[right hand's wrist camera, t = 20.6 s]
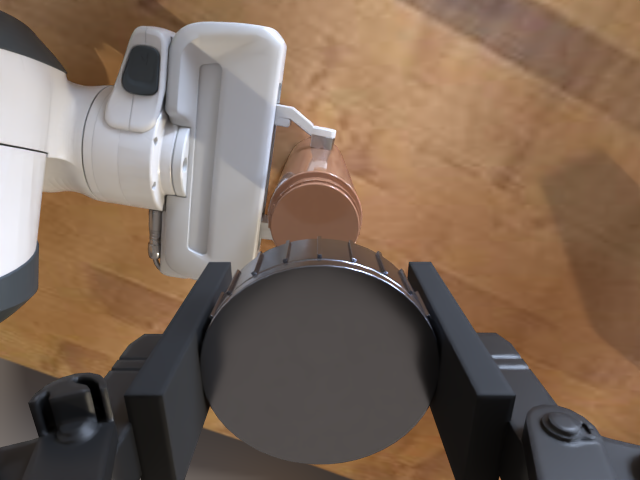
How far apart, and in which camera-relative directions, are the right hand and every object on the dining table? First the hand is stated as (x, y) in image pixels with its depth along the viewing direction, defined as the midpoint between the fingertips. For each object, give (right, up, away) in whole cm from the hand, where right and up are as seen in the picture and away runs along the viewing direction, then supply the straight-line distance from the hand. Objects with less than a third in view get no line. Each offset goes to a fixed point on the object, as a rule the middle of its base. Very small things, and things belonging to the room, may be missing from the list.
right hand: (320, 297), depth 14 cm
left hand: (0, +7, +18) cm, 19 cm away
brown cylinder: (0, +9, +24) cm, 26 cm away
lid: (0, -1, -4) cm, 4 cm away
